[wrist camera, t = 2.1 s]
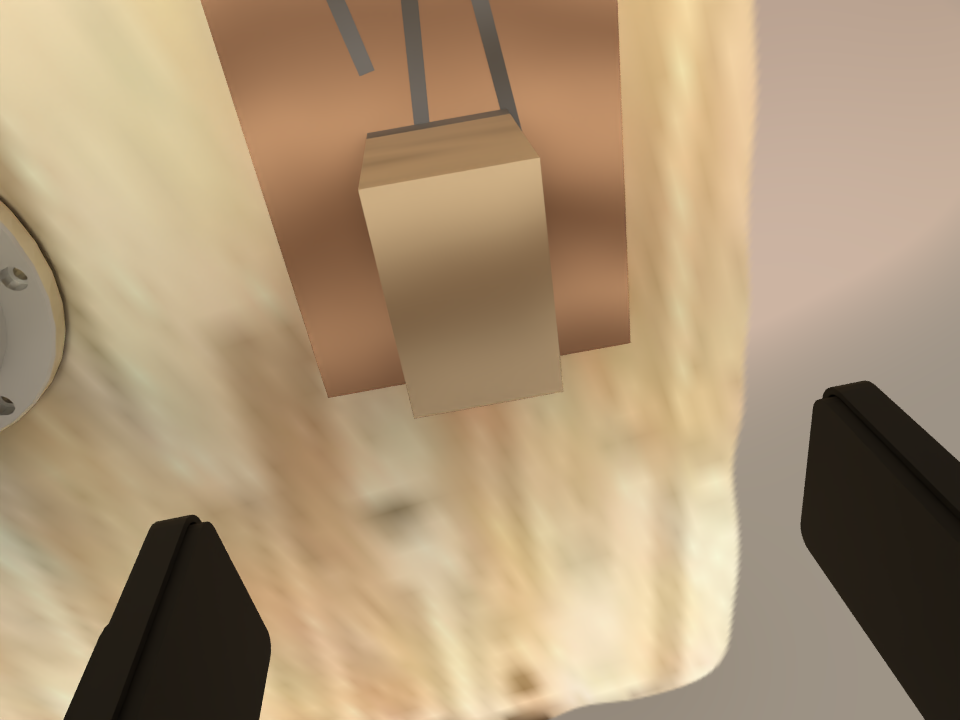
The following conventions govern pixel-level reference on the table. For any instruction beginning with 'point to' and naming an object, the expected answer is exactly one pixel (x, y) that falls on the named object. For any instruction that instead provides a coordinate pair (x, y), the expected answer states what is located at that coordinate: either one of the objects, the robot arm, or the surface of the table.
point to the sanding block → (463, 260)
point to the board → (415, 100)
